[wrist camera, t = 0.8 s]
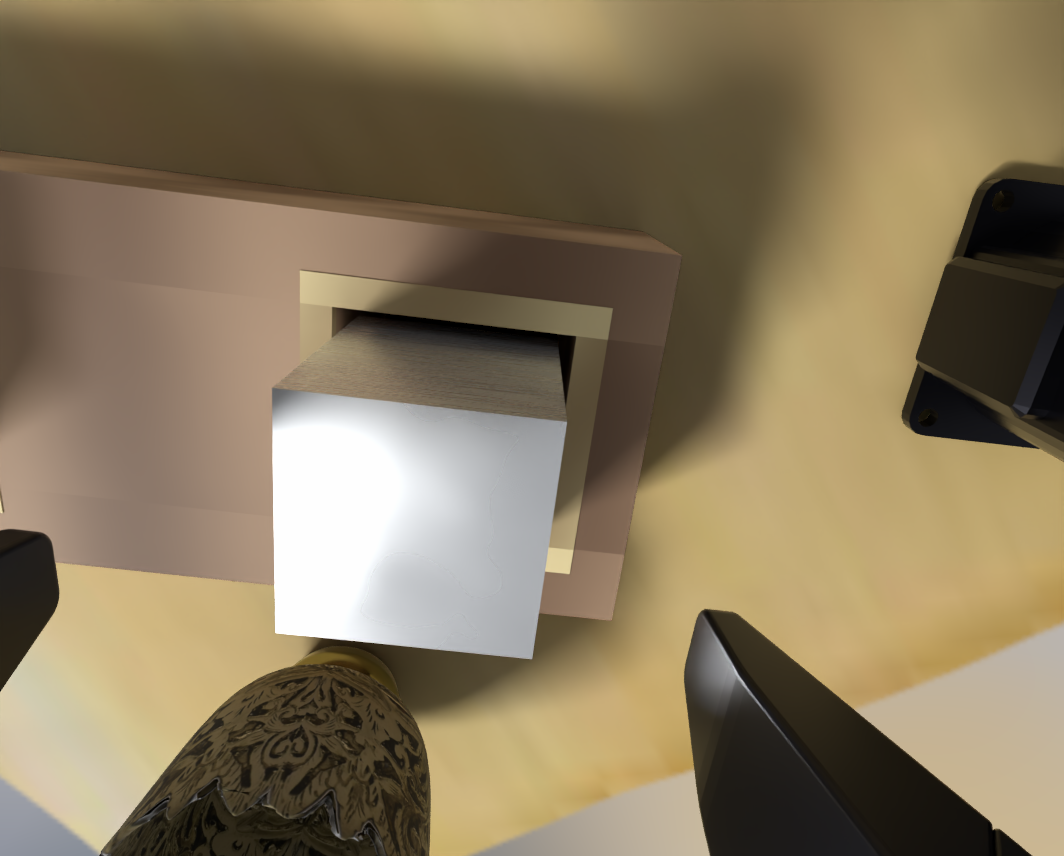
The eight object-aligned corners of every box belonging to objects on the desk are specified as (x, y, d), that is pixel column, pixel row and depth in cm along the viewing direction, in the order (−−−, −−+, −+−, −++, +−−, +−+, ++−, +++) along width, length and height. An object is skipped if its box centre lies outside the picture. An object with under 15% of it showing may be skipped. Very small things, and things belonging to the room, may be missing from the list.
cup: (242, 561, 21) (75, 785, 13) (482, 610, 21) (453, 852, 14) (223, 746, 23) (74, 1022, 16) (437, 786, 24) (392, 1070, 16)
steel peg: (557, 339, 14) (567, 422, 9) (533, 514, 15) (532, 659, 11) (358, 315, 14) (272, 387, 9) (352, 494, 15) (275, 632, 11)
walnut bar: (642, 231, 17) (682, 255, 12) (594, 514, 20) (611, 621, 15) (-184, 127, 16) (-472, 111, 12) (-112, 436, 19) (-322, 523, 15)
